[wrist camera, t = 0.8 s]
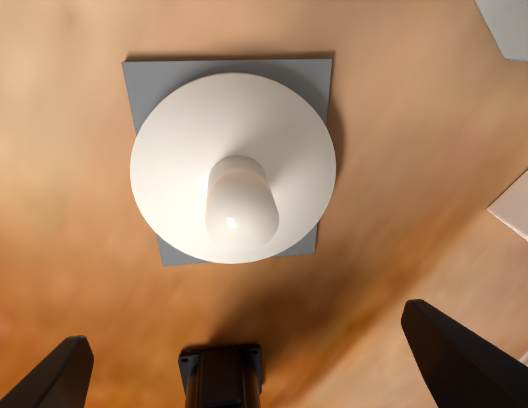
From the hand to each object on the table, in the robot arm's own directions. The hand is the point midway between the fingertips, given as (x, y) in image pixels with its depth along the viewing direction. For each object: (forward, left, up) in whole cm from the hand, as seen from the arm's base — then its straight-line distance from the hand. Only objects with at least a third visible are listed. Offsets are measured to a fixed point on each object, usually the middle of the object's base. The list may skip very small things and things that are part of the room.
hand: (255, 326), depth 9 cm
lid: (0, 0, -10) cm, 10 cm away
